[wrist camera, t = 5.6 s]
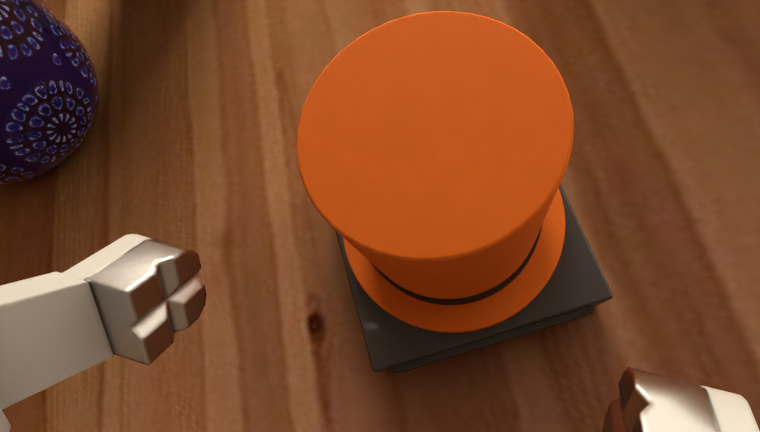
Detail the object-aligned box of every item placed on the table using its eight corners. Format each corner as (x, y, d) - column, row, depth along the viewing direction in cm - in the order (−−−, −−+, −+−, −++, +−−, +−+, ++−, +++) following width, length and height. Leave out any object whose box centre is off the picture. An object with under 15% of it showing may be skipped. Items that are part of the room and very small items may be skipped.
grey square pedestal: (600, 311, 18) (617, 304, 16) (387, 377, 19) (374, 379, 17) (513, 119, 21) (517, 90, 19) (334, 184, 22) (317, 163, 20)
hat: (602, 291, 16) (705, 231, 9) (378, 361, 17) (296, 361, 10) (513, 98, 19) (532, -71, 12) (325, 166, 20) (231, 50, 12)
